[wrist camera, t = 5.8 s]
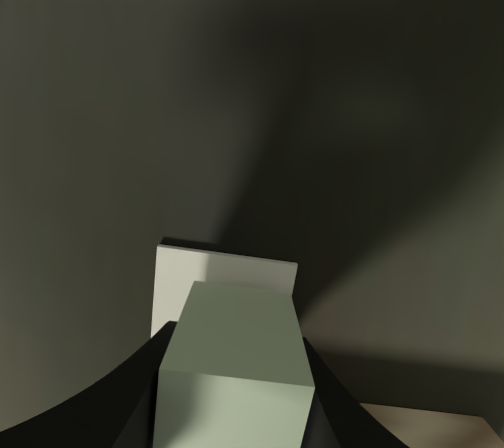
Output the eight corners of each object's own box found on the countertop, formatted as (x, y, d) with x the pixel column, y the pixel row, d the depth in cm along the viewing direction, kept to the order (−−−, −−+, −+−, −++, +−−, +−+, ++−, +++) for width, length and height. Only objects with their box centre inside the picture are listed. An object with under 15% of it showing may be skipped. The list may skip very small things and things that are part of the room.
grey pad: (296, 262, 13) (297, 265, 13) (274, 375, 15) (274, 380, 15) (159, 244, 13) (157, 246, 13) (150, 361, 15) (148, 365, 14)
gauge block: (290, 293, 13) (315, 386, 8) (274, 372, 14) (287, 498, 9) (193, 280, 13) (159, 368, 8) (185, 362, 14) (149, 485, 9)
